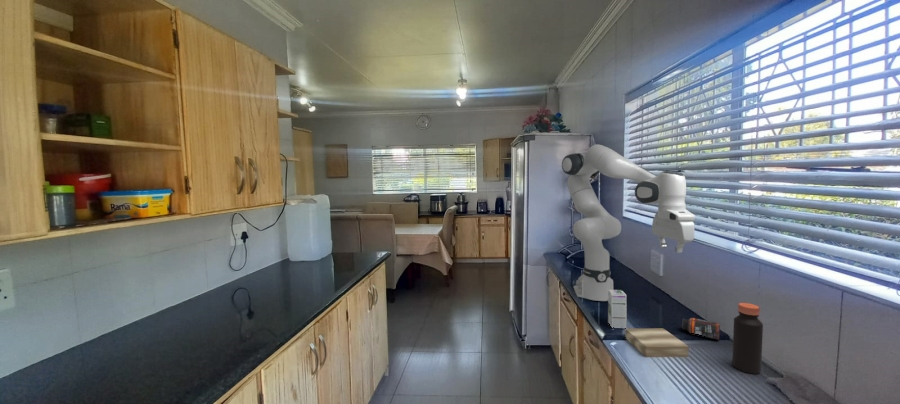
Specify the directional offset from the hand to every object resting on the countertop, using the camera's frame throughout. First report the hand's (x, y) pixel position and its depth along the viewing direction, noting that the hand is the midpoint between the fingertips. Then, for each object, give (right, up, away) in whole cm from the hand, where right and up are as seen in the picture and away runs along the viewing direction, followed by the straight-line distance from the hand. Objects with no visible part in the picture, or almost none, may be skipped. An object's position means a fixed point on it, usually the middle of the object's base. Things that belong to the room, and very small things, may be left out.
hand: (670, 249), depth 130 cm
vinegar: (+8, -34, -24) cm, 42 cm away
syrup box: (-17, -32, +6) cm, 37 cm away
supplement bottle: (+15, -29, -6) cm, 33 cm away
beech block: (-12, -33, -10) cm, 37 cm away
